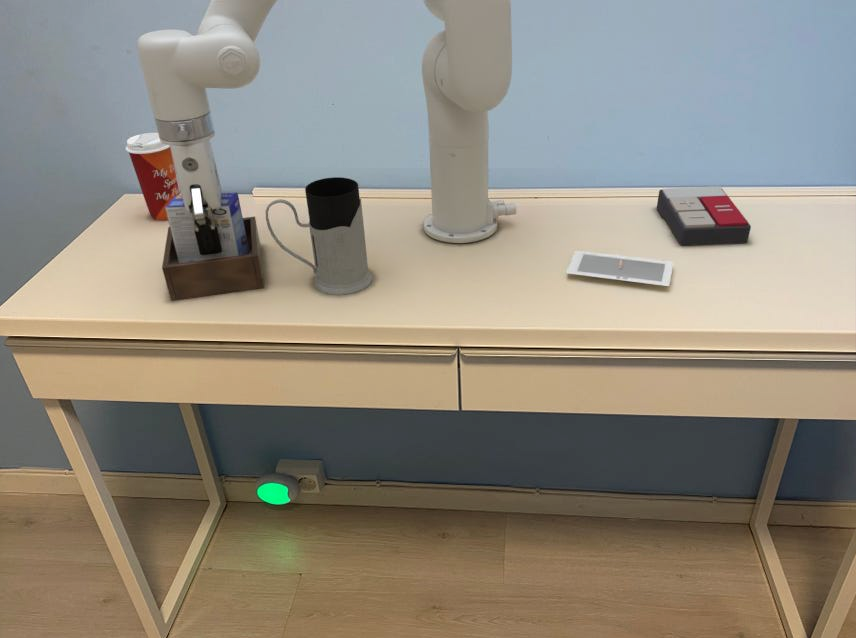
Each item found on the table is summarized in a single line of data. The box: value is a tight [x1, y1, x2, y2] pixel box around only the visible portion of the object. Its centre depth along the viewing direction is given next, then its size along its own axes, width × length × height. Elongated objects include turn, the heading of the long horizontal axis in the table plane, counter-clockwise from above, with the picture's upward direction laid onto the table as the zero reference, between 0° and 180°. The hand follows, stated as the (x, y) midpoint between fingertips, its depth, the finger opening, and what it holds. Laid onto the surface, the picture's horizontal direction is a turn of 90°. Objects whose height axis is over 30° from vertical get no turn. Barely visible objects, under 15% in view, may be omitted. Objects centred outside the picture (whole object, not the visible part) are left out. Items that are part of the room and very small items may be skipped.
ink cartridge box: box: [165, 191, 251, 263], centre depth 114 cm, size 10×6×14 cm, turn 89°
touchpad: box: [565, 250, 675, 287], centre depth 113 cm, size 8×15×2 cm, turn 71°
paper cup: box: [125, 132, 181, 221], centre depth 134 cm, size 8×8×14 cm
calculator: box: [656, 186, 752, 247], centre depth 126 cm, size 11×4×15 cm
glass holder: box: [265, 176, 373, 296], centre depth 110 cm, size 9×14×15 cm, turn 99°
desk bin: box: [161, 216, 265, 302], centre depth 116 cm, size 14×15×6 cm
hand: (211, 241), depth 115 cm, fingers open, 6 cm apart
